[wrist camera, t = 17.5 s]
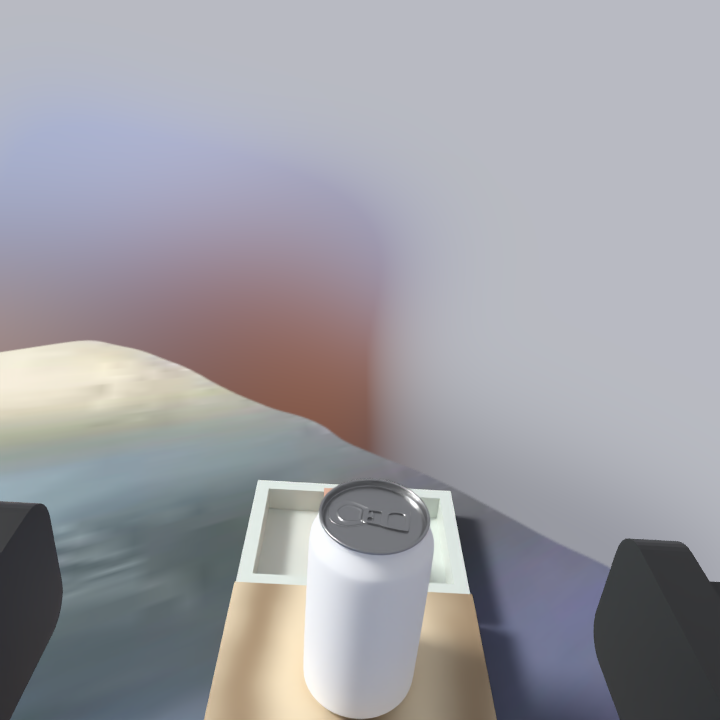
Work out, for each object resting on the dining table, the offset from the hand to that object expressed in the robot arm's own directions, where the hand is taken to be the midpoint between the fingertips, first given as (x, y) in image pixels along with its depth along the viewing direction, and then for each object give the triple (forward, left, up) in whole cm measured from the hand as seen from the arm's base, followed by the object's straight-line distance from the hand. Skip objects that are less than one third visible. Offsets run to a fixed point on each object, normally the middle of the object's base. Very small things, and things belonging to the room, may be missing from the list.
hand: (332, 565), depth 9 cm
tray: (+2, +31, -30) cm, 43 cm away
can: (+2, +19, -27) cm, 33 cm away
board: (+2, +19, -30) cm, 36 cm away
